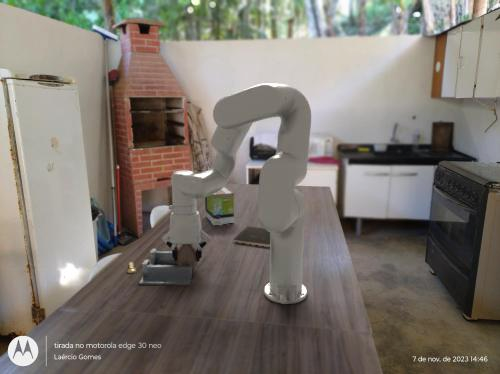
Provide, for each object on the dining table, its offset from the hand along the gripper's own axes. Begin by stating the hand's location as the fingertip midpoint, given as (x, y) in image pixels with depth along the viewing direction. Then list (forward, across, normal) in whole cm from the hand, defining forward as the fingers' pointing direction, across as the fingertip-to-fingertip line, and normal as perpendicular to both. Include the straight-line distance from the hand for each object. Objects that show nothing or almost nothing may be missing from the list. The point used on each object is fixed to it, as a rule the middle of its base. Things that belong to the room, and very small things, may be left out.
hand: (187, 259), depth 126 cm
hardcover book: (+5, +27, +28) cm, 39 cm away
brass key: (+4, -19, +1) cm, 20 cm away
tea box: (+4, +6, +52) cm, 52 cm away
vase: (+3, 0, 0) cm, 3 cm away
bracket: (+4, -5, 0) cm, 6 cm away
